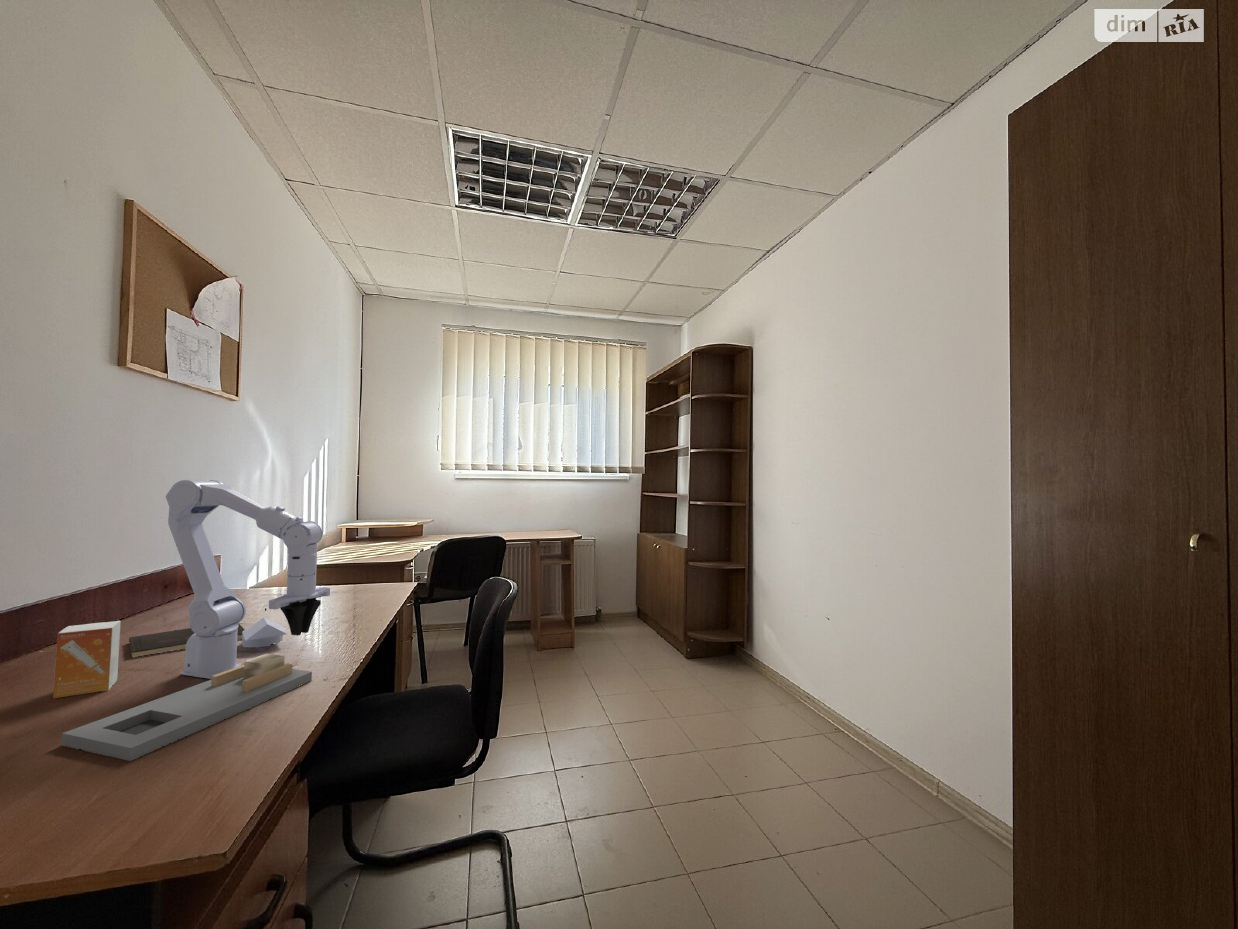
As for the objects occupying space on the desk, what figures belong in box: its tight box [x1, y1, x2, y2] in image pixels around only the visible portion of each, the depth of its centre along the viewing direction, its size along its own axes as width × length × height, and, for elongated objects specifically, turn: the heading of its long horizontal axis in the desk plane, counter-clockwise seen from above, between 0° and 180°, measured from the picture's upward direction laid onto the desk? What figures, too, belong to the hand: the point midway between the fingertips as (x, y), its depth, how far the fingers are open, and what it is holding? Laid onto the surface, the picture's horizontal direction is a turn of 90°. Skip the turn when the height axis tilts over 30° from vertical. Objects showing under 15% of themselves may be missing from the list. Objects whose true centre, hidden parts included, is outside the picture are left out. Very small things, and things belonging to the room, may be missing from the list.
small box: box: [52, 620, 121, 699], centre depth 104 cm, size 8×6×13 cm
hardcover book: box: [128, 623, 245, 658], centre depth 135 cm, size 16×23×2 cm
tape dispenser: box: [241, 616, 288, 648], centre depth 134 cm, size 9×7×13 cm
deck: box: [61, 663, 313, 762], centre depth 96 cm, size 16×33×4 cm, turn 165°
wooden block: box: [244, 653, 285, 679], centre depth 108 cm, size 5×5×4 cm
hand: (299, 633), depth 116 cm, fingers closed
